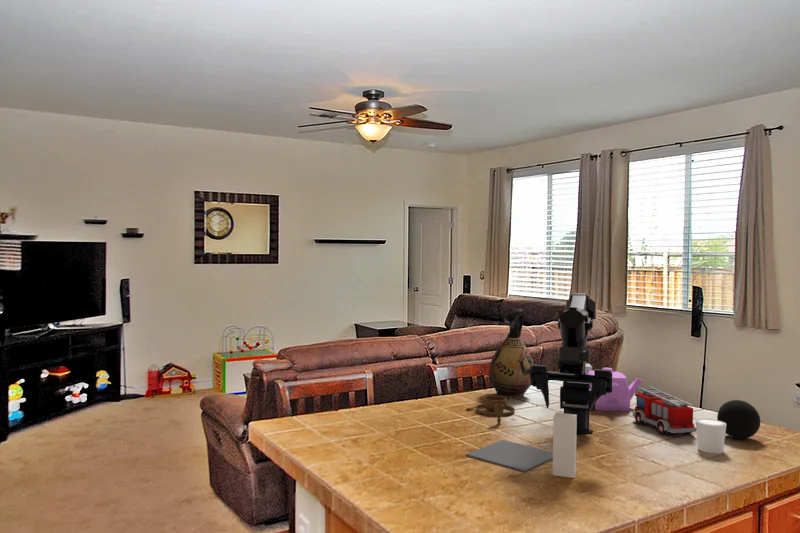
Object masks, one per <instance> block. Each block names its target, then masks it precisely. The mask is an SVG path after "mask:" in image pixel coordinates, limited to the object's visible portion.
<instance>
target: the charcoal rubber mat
mask: <svg viewBox="0 0 800 533" xmlns="http://www.w3.org/2000/svg"><path fill="white" fill-rule="evenodd" d="M465 456H466V457H469V458H473V459H476V460H479V461H484V462H487V463H491V464H493V465H498V466H501V467H505V468H509V469H512V470H516V471H519V472H523V473H526V472H528V471H531V470H533V469H535V468H537V467H539V466H541V465H544V464H545V463H549V461H553V451H550V450H546V449H541V448H538V447H533V446H529V445H525V444H521V443H516V442H513V441H510V440H505V439H502V440H499V441H497V442H494V443H491V444H488V445H486V446H483V447H481V448H478V449H475V450H473V451H470V452H467V453H465Z"/></svg>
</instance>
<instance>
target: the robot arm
mask: <svg viewBox="0 0 800 533" xmlns="http://www.w3.org/2000/svg"><path fill="white" fill-rule="evenodd" d="M596 319H597V303H596V301H594V300H593V299H592V298H591V297H590V295H589V294H588V293H582V292H580V293H579V292H577V293H576V292H573V293H570V297H569V298H568V300H566V301H565V309H564V311H562V313H561V314H560V316H559V318H558V320H557V328H558V329H559V331H560V337H561V346H560V347H558V348H559V350H558V358H557V359H558V360H557V369H558V371H549V369H548V365H544V364H543V365H541V364H534V365H532V366H531V367H530V372H529V374H530V380H531V386H532V387H535V388H536V390H540V392H541V393H542V396H543V400H544V402H545V407H546V409H549V406H550V391H549V390H550V389H549V388H550V387H549V381H557V382H562V385H561V386H560V388H559V408H560V410H562V409H563V413H565V414H575V415H577V433H576V435H582V434H584V435H585V434H592V433H594V430H593V429H590V413H591V412H592V413H593V411H596V410H595V403H596V401H597V400H598V399H599V398H600V396H601V395H606V393H611V392H612V372H613V371H612V372H611V371H610V370H602V369H598V368H595V369H594V370H593V371H594V375H586V374H585V367H586V364H587V362H590V354H591V352H590V350H591V348H590V346H587V344H588V334H589V333H591V331H592V329H593V328H594V320H596ZM590 384H592V388H591V389H590Z"/></svg>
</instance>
